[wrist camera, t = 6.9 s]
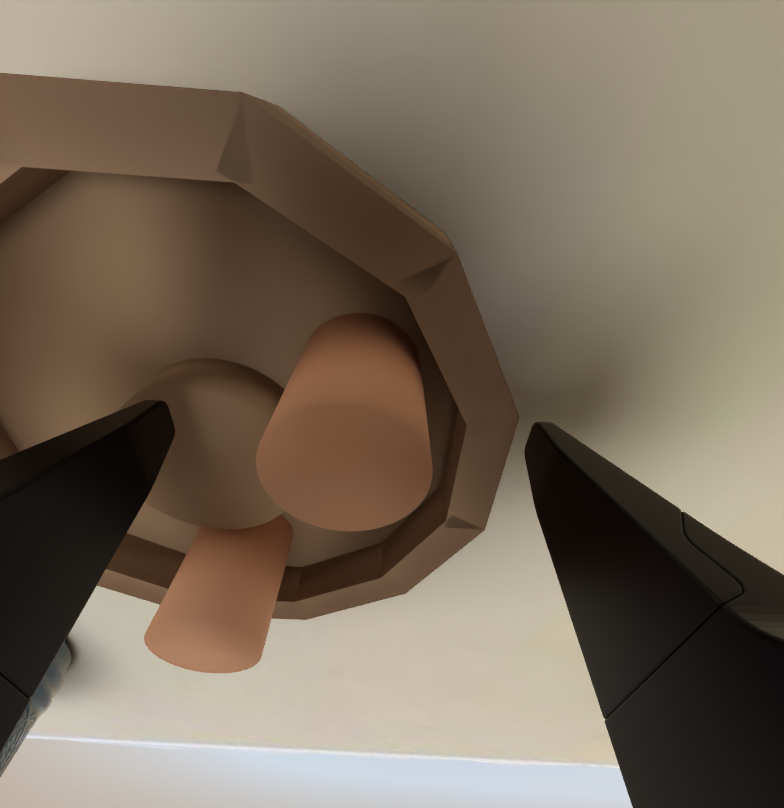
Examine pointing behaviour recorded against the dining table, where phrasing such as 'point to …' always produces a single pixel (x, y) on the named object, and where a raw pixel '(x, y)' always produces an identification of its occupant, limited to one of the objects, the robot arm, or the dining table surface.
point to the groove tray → (226, 317)
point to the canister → (37, 704)
